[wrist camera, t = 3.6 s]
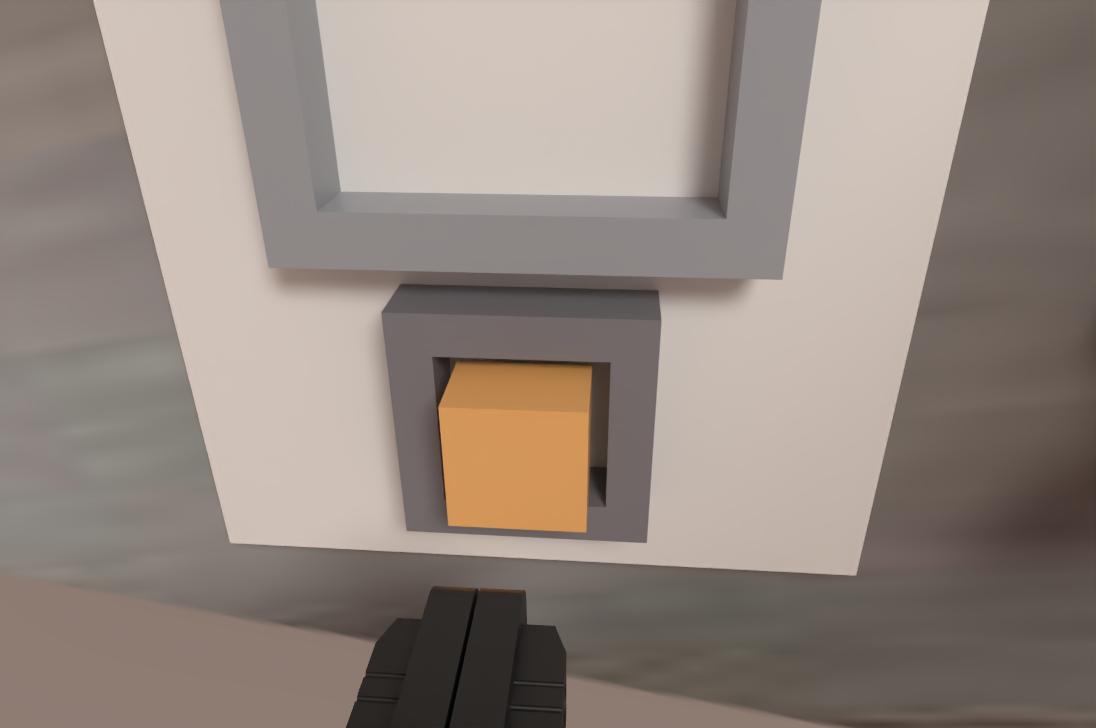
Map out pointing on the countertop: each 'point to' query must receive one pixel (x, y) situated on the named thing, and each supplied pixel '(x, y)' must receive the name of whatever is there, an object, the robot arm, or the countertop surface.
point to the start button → (517, 445)
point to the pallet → (548, 252)
